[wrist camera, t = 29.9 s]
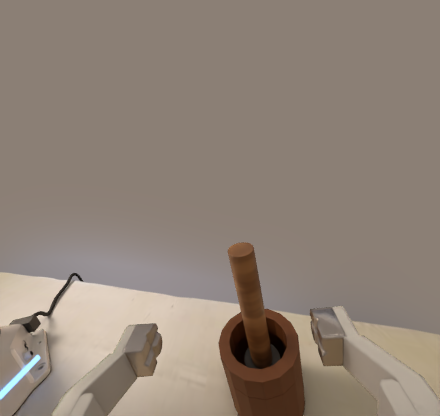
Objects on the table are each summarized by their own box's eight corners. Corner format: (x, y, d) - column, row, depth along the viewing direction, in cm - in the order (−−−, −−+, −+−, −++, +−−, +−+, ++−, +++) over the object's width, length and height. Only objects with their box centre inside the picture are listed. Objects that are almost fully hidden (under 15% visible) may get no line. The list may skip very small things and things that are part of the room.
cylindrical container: (221, 386, 34) (206, 335, 31) (270, 347, 39) (261, 298, 35) (265, 461, 26) (250, 403, 22) (320, 401, 30) (316, 344, 26)
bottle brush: (245, 387, 33) (210, 250, 25) (269, 366, 35) (244, 233, 27) (267, 420, 29) (234, 269, 21) (293, 394, 31) (273, 247, 23)
